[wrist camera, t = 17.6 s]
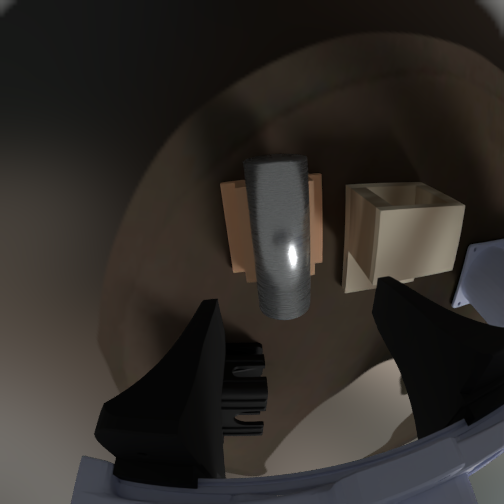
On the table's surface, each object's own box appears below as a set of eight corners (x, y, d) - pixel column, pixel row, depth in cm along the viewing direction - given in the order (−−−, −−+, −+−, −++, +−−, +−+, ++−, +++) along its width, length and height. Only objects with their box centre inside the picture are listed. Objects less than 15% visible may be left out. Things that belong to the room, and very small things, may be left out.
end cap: (188, 337, 26) (179, 394, 20) (262, 338, 26) (269, 396, 20) (198, 395, 30) (194, 443, 24) (258, 395, 31) (261, 443, 25)
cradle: (319, 173, 19) (328, 179, 17) (320, 259, 23) (327, 272, 21) (220, 182, 19) (218, 190, 17) (233, 269, 23) (233, 284, 21)
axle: (238, 158, 17) (250, 167, 14) (294, 152, 17) (317, 160, 14) (254, 294, 21) (266, 325, 18) (299, 284, 22) (317, 312, 19)
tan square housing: (421, 181, 20) (465, 205, 15) (408, 275, 24) (439, 312, 19) (345, 184, 20) (380, 210, 15) (341, 286, 24) (364, 331, 19)
